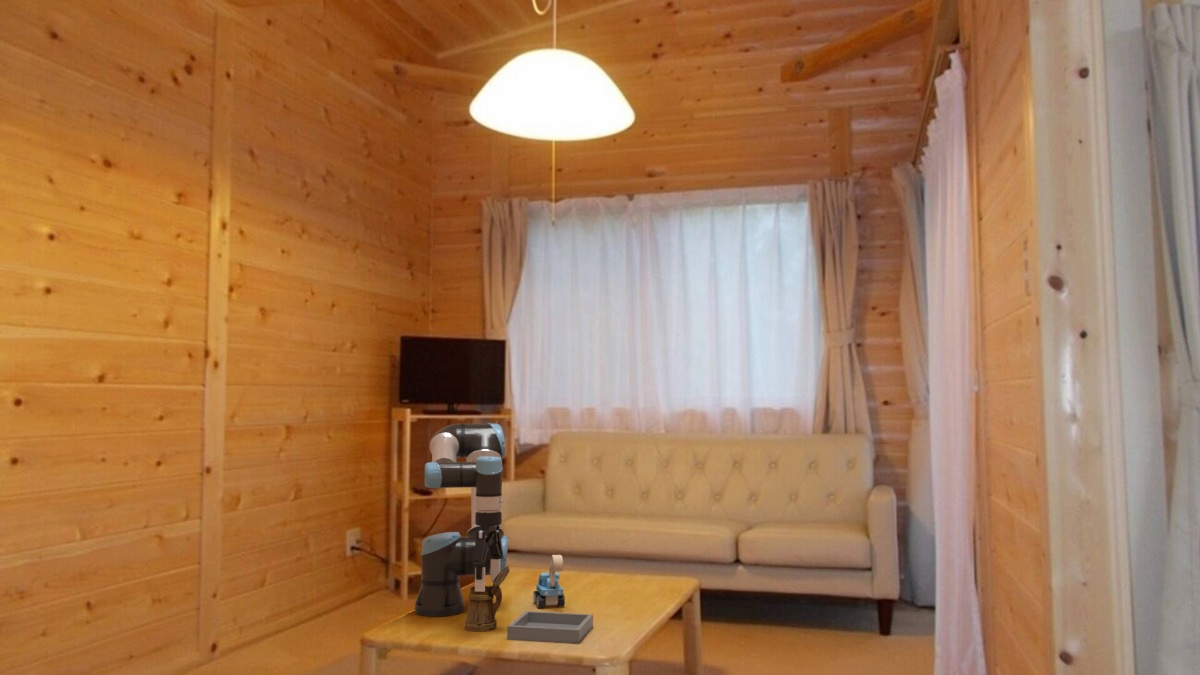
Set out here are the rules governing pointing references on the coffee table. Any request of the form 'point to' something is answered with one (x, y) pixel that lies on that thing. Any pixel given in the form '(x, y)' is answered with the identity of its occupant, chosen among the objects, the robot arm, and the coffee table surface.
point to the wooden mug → (485, 605)
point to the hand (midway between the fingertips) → (487, 586)
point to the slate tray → (550, 627)
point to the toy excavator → (550, 586)
